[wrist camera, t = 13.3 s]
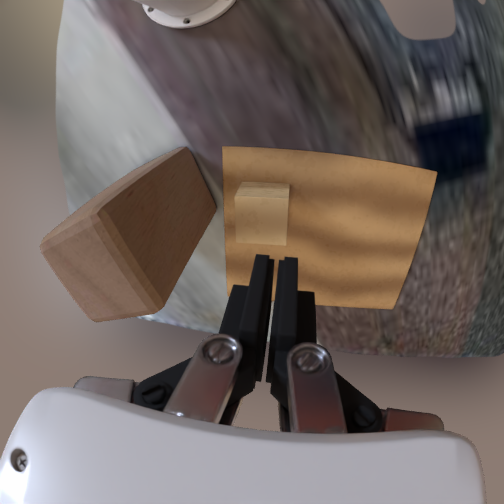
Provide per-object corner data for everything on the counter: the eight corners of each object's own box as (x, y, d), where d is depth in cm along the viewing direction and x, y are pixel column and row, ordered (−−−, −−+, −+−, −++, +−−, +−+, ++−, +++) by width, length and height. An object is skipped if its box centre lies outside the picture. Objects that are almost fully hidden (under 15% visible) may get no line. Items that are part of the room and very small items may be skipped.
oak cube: (241, 181, 35) (234, 196, 31) (289, 183, 35) (289, 198, 30) (242, 223, 39) (236, 242, 34) (287, 226, 38) (286, 245, 34)
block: (189, 142, 33) (94, 208, 17) (220, 209, 38) (164, 317, 22) (131, 171, 36) (32, 246, 20) (162, 229, 41) (91, 327, 25)
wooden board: (222, 146, 33) (222, 146, 33) (436, 171, 30) (437, 172, 30) (227, 295, 46) (227, 296, 46) (392, 308, 43) (392, 309, 43)
